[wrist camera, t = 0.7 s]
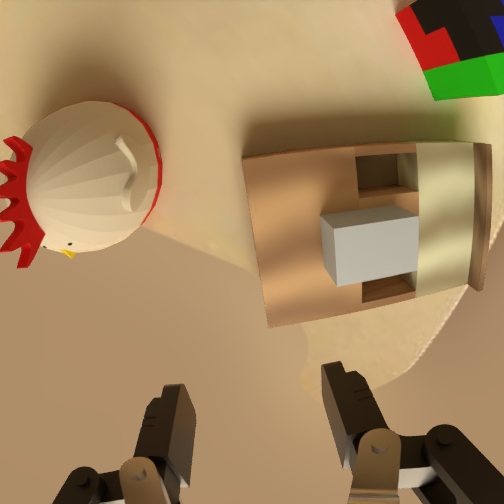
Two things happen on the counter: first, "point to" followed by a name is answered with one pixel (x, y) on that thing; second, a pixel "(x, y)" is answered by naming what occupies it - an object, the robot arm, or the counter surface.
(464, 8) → the puzzle toy
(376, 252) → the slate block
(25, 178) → the kitchen timer
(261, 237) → the board
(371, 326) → the counter surface
